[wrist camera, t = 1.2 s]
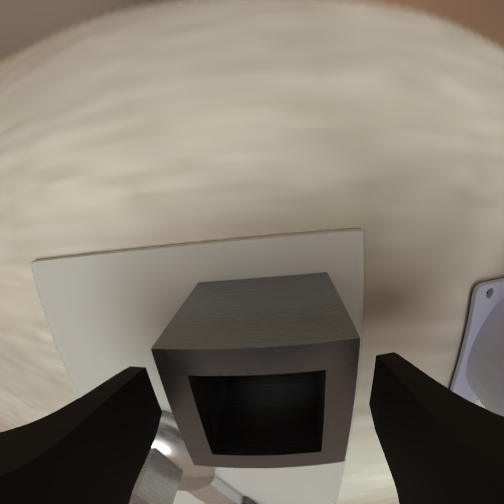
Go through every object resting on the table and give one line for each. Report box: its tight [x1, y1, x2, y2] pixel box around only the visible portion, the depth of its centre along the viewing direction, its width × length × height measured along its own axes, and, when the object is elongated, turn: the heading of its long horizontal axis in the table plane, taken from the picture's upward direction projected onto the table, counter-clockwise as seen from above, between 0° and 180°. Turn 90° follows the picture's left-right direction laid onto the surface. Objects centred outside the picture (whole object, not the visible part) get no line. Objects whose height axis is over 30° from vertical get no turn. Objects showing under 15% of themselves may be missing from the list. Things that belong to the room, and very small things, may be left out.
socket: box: [151, 272, 360, 468], centre depth 9 cm, size 5×5×5 cm
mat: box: [30, 228, 364, 504], centre depth 15 cm, size 16×27×1 cm, turn 6°
